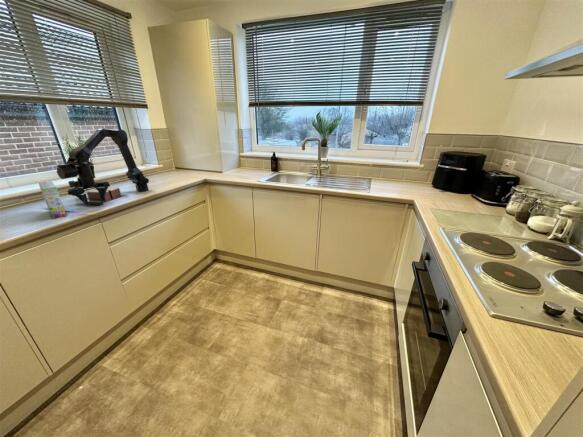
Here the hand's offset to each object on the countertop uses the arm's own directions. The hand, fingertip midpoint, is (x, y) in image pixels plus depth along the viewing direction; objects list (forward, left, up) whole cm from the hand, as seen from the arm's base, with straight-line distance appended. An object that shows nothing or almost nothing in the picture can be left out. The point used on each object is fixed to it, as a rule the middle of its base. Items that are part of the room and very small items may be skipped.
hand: (95, 203), depth 131 cm
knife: (+4, 0, -2) cm, 5 cm away
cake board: (+8, -11, -2) cm, 14 cm away
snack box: (+11, +12, -2) cm, 16 cm away
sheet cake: (+8, -15, -1) cm, 17 cm away
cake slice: (+8, -10, -1) cm, 12 cm away
